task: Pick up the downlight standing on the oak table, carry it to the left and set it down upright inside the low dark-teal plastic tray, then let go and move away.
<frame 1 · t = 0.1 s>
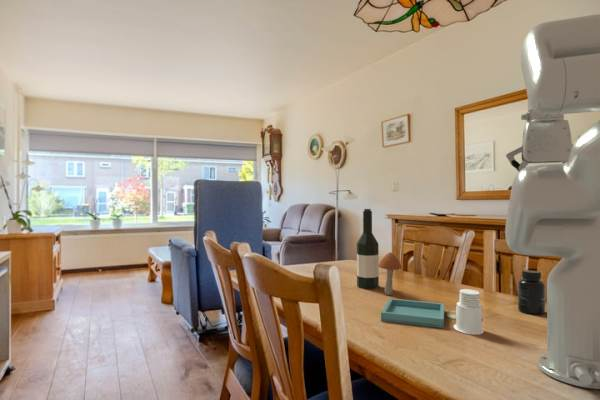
hand: (545, 185, 93), 37 cm above the table, tool pointing down, fingers open, 9 cm apart
wine bottle: (367, 287, 144), on the table
downlight: (468, 330, 95), on the table
supplement bottle: (531, 312, 110), on the table
tray: (414, 315, 106), on the table
mushroom: (390, 295, 131), on the table
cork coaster: (463, 317, 105), on the table
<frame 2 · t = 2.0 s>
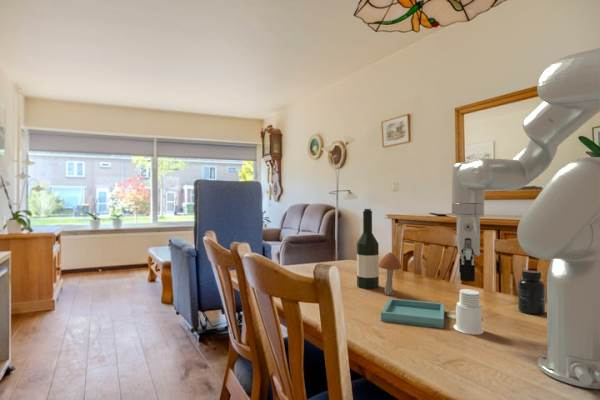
hand: (466, 276, 95), 13 cm above the table, tool pointing down, fingers open, 9 cm apart
nothing on the table moved.
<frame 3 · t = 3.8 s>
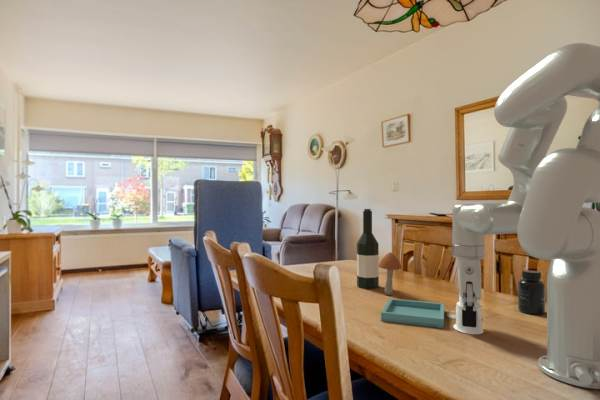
hand: (468, 321, 95), 2 cm above the table, tool pointing down, fingers closed on downlight, 5 cm apart
downlight: (468, 330, 95), on the table, touching gripper
everything else where it was.
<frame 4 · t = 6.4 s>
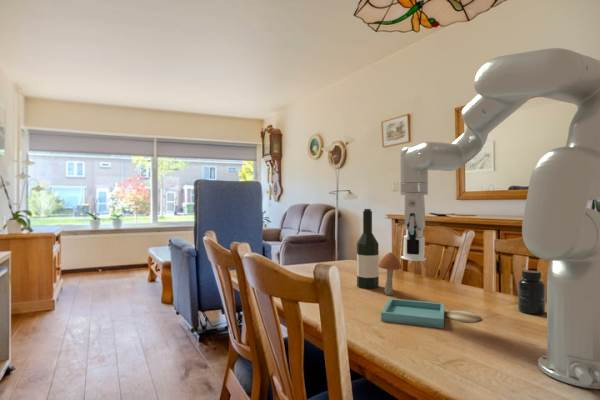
hand: (414, 251, 106), 18 cm above the table, tool pointing down, fingers closed on downlight, 5 cm apart
downlight: (413, 259, 107), point 16 cm above the table, touching gripper
everything else where it was.
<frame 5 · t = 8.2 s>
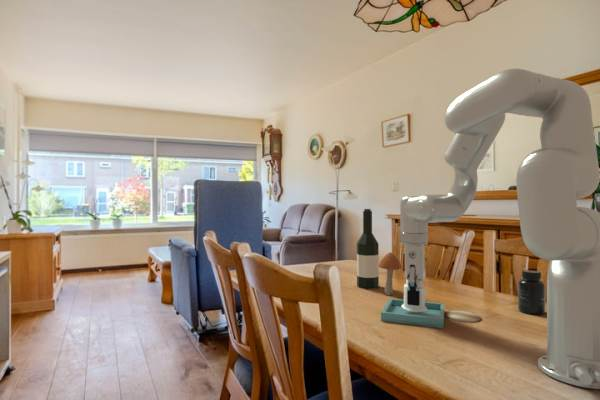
hand: (414, 301, 106), 4 cm above the table, tool pointing down, fingers closed on downlight, 5 cm apart
downlight: (414, 309, 106), point 2 cm above the table, touching gripper
everything else where it was.
when the fingers open (4 cm above the table, at t = 8.8 s): downlight drops 2 cm, resting on tray.
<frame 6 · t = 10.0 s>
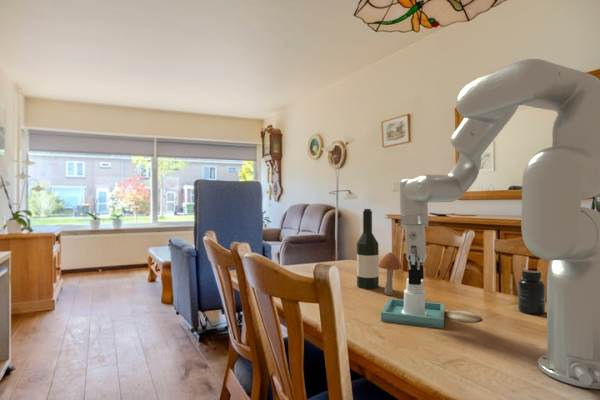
hand: (416, 281, 106), 10 cm above the table, tool pointing down, fingers open, 9 cm apart
downlight: (414, 314, 106), resting on tray
everything else where it was.
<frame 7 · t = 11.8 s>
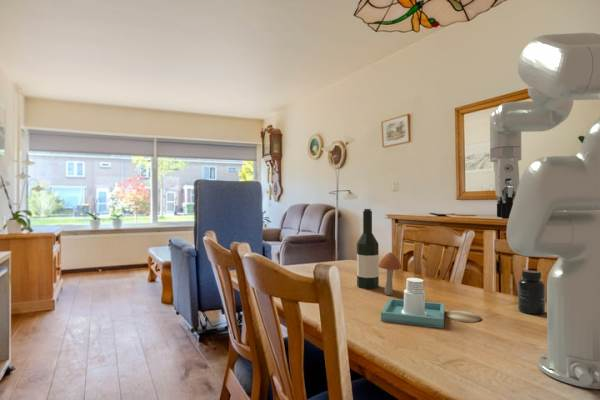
hand: (505, 218, 101), 28 cm above the table, tool pointing down, fingers open, 9 cm apart
nothing on the table moved.
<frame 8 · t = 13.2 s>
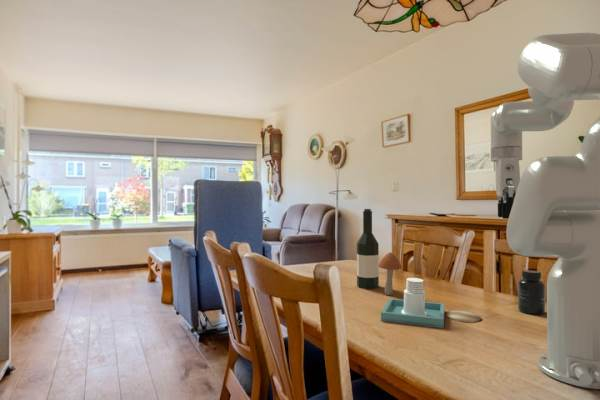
hand: (506, 217, 101), 28 cm above the table, tool pointing down, fingers open, 9 cm apart
nothing on the table moved.
at the end: downlight inside the target area on the tray (0.2 cm from its centre), point 0.4 cm above the tray's base; downlight tilted 0°; the gripper is holding nothing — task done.
